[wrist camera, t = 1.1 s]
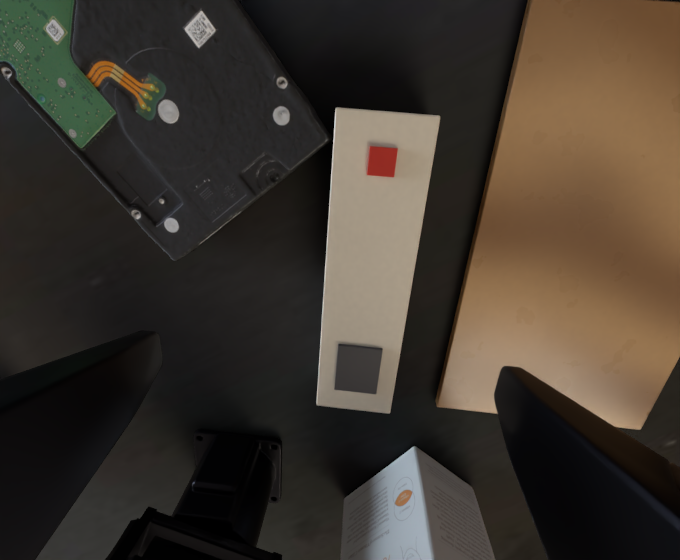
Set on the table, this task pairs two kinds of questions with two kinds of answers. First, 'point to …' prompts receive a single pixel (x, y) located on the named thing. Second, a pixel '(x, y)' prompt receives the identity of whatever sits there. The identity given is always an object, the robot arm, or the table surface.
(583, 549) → the robot arm
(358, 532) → the small box
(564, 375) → the cork mat
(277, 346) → the table surface
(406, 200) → the remote
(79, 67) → the disk drive
